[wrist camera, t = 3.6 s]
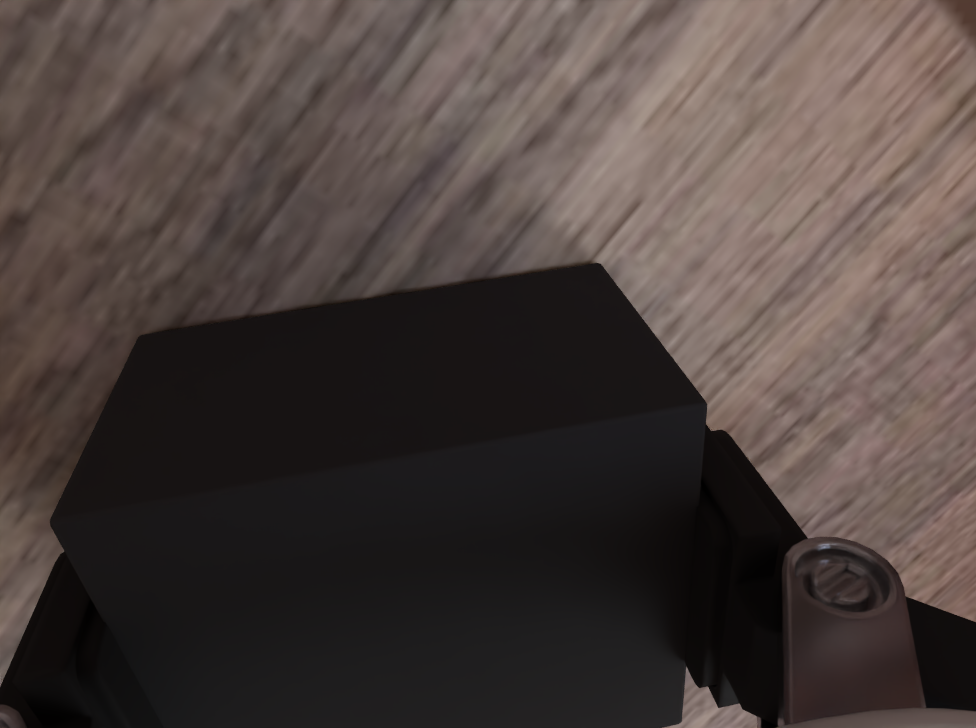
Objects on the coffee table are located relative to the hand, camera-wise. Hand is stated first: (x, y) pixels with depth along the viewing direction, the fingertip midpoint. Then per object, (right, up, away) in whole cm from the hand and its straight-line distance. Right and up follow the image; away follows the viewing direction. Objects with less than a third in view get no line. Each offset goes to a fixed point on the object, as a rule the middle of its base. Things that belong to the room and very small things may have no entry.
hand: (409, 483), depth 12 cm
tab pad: (0, -1, +1) cm, 2 cm away
